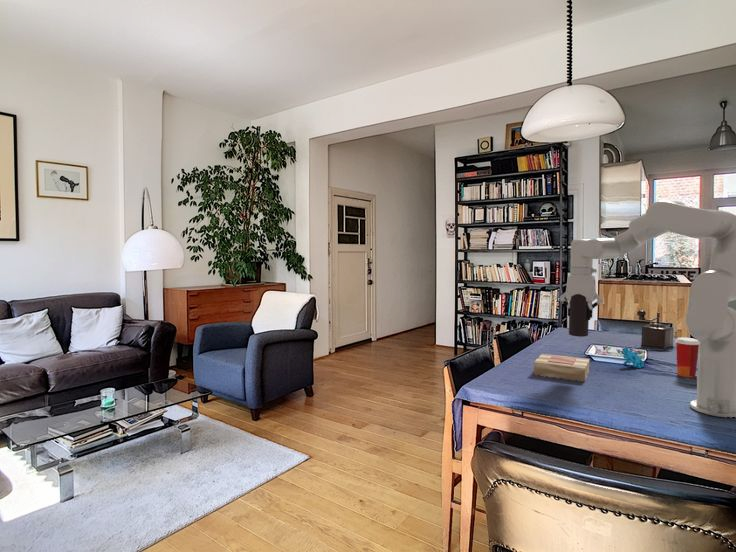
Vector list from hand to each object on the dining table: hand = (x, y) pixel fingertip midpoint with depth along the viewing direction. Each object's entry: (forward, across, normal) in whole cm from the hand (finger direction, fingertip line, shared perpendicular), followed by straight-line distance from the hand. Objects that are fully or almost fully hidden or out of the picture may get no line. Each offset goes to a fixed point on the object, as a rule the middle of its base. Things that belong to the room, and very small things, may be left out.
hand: (579, 318), depth 172 cm
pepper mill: (+22, -24, -73) cm, 80 cm away
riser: (+22, +6, 0) cm, 23 cm away
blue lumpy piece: (+22, -17, -25) cm, 38 cm away
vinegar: (+7, 0, 0) cm, 7 cm away
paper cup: (+22, -35, -20) cm, 46 cm away
